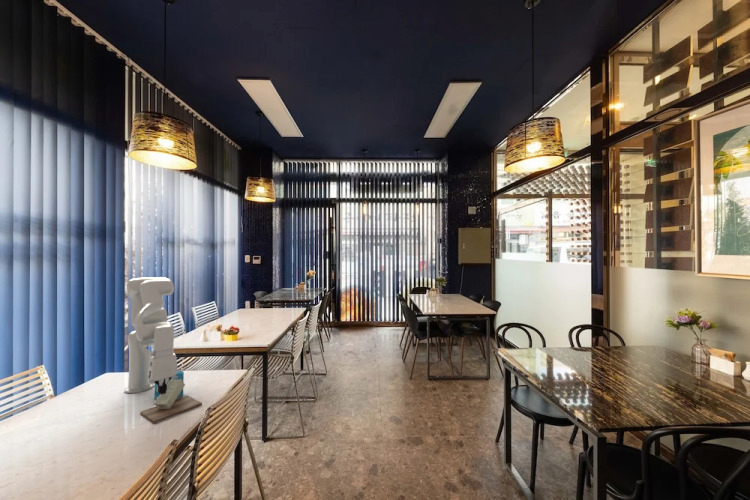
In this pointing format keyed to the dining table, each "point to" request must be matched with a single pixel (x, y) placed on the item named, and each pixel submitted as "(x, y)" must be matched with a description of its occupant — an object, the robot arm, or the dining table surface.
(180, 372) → the data package
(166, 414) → the serving board
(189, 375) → the dining table surface
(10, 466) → the dining table surface
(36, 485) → the dining table surface
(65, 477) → the dining table surface
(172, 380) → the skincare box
